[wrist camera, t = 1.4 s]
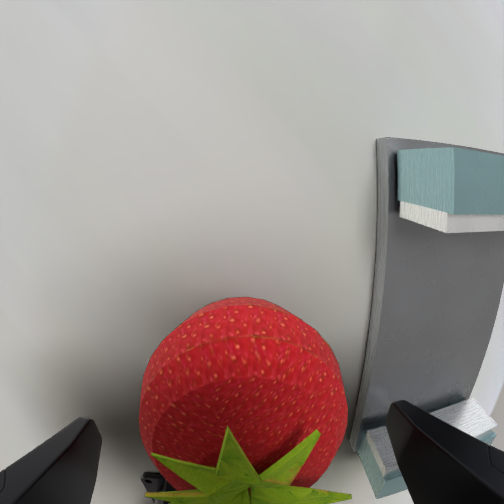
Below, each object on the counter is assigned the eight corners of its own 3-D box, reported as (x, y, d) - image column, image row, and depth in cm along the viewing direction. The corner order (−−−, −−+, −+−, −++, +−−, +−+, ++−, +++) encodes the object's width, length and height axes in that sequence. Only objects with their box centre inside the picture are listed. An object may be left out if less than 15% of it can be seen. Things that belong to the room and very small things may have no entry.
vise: (453, 410, 16) (486, 453, 11) (348, 440, 16) (372, 500, 11) (501, 155, 12) (568, 160, 7) (376, 139, 11) (446, 128, 7)
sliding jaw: (513, 215, 11) (563, 230, 8) (397, 216, 11) (451, 235, 8) (515, 165, 11) (567, 171, 7) (397, 150, 10) (453, 147, 7)
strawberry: (317, 252, 13) (478, 436, 3) (294, 398, 14) (339, 580, 5) (169, 244, 12) (26, 438, 2) (175, 393, 14) (139, 580, 4)
